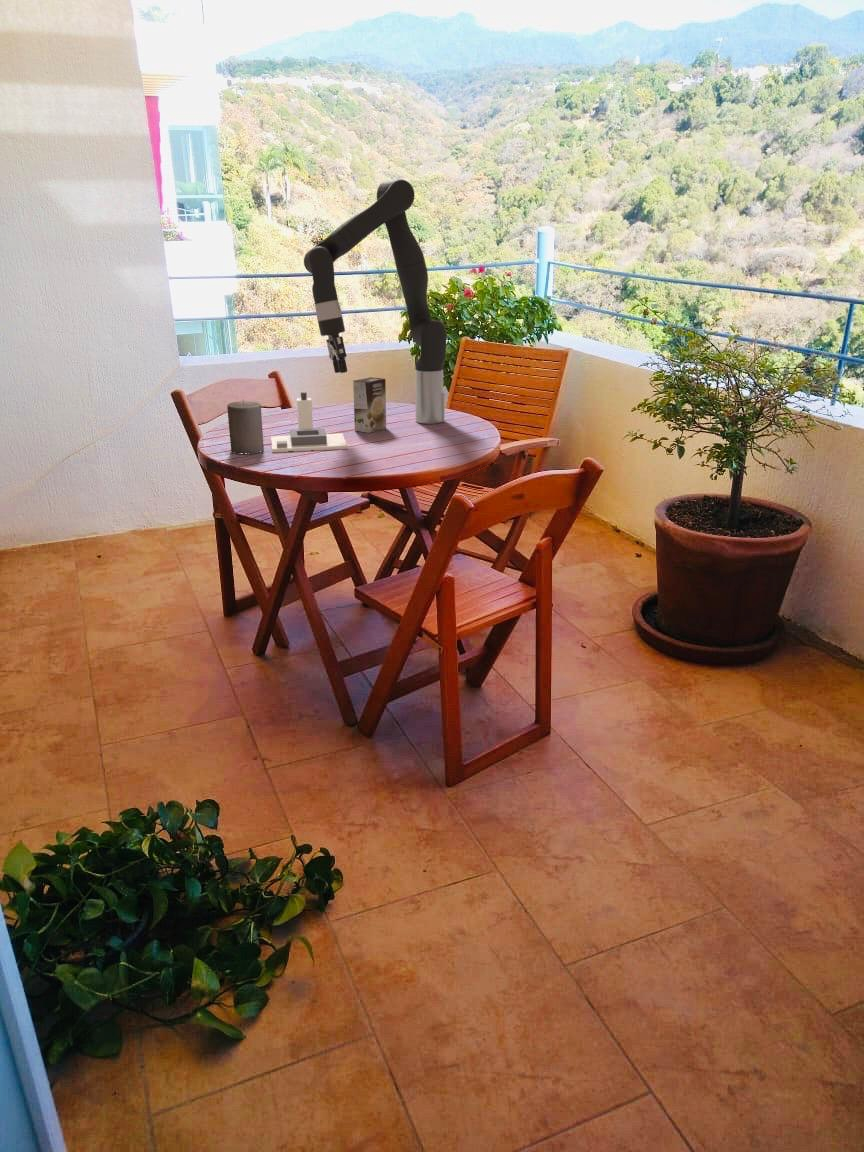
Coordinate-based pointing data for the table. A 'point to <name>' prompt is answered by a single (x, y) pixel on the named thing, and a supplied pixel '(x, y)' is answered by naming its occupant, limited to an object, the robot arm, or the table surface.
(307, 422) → the plug
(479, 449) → the table surface
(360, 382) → the coffee box
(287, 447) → the socket dock
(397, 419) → the table surface
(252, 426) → the pillar candle
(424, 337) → the robot arm
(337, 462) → the table surface
